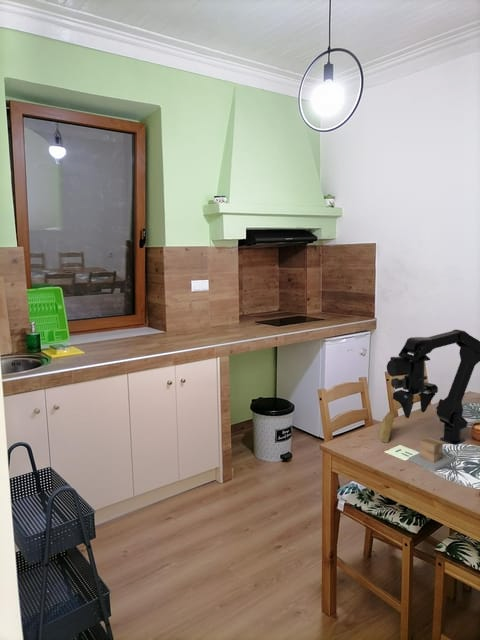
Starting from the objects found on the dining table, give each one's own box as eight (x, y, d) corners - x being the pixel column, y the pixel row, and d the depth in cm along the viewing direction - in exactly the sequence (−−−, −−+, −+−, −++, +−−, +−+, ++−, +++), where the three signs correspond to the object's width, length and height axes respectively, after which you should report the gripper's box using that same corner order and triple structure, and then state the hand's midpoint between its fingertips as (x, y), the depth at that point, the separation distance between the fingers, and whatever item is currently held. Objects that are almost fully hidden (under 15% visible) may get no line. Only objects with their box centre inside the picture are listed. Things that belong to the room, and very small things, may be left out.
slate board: (427, 451, 164) (427, 449, 164) (454, 461, 156) (454, 458, 155) (408, 460, 158) (408, 457, 158) (434, 471, 150) (435, 468, 149)
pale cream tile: (400, 445, 170) (400, 444, 170) (421, 453, 163) (421, 453, 163) (384, 451, 165) (384, 451, 165) (405, 460, 158) (405, 460, 158)
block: (429, 453, 160) (429, 437, 159) (442, 458, 156) (442, 442, 155) (420, 457, 157) (420, 441, 156) (433, 463, 153) (434, 446, 152)
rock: (393, 440, 169) (405, 428, 176) (379, 420, 171) (392, 409, 178) (373, 449, 177) (386, 438, 183) (360, 430, 179) (373, 419, 185)
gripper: (412, 364, 175) (411, 403, 177) (380, 373, 165) (380, 414, 167) (439, 370, 166) (438, 411, 168) (406, 379, 156) (406, 423, 158)
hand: (415, 414), depth 166 cm, fingers open, 9 cm apart
